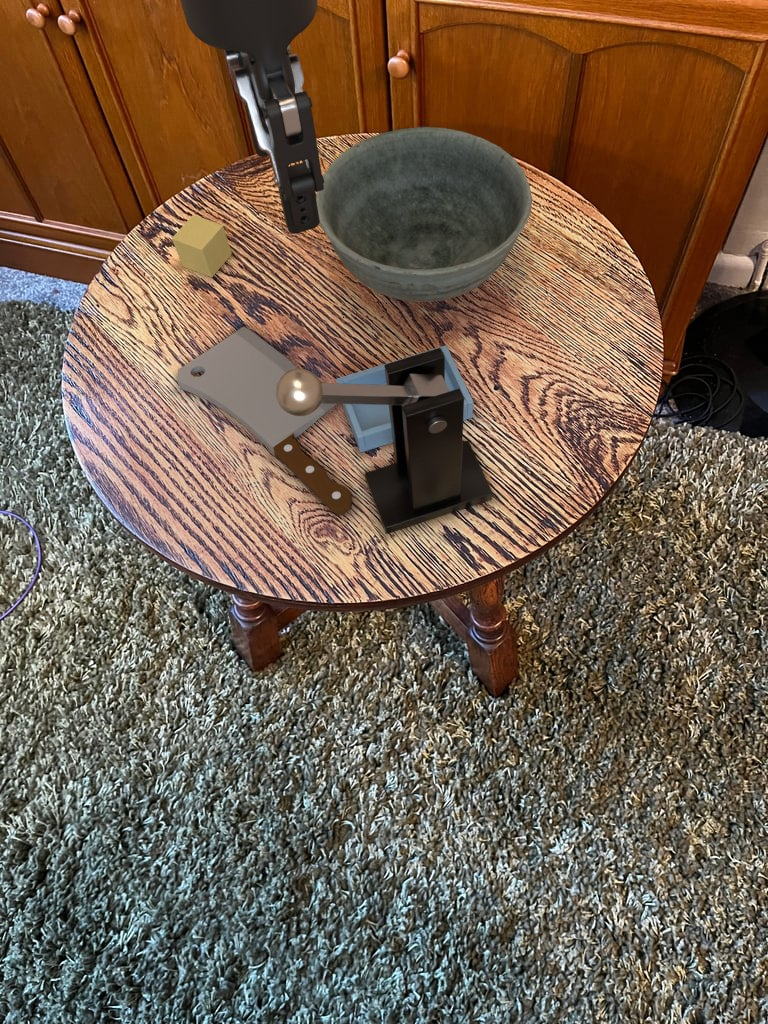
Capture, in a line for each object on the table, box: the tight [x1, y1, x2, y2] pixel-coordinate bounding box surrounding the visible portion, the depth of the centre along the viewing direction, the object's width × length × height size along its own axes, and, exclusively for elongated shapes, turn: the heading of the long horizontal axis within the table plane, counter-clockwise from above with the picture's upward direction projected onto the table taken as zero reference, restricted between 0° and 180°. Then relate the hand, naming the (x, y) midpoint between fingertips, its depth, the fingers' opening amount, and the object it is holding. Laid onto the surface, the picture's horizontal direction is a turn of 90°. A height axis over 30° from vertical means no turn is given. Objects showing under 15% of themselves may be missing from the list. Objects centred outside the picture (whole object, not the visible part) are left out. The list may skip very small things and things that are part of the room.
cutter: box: [364, 347, 494, 535], centre depth 62 cm, size 10×6×16 cm, turn 108°
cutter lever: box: [276, 368, 449, 416], centre depth 55 cm, size 13×3×3 cm, turn 108°
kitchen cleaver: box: [177, 326, 353, 516], centre depth 74 cm, size 24×1×10 cm
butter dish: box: [335, 345, 474, 453], centre depth 73 cm, size 11×7×2 cm, turn 108°
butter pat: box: [171, 214, 233, 278], centre depth 83 cm, size 4×4×4 cm
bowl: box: [316, 126, 533, 303], centre depth 78 cm, size 21×21×10 cm
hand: (286, 188), depth 54 cm, fingers open, 8 cm apart
